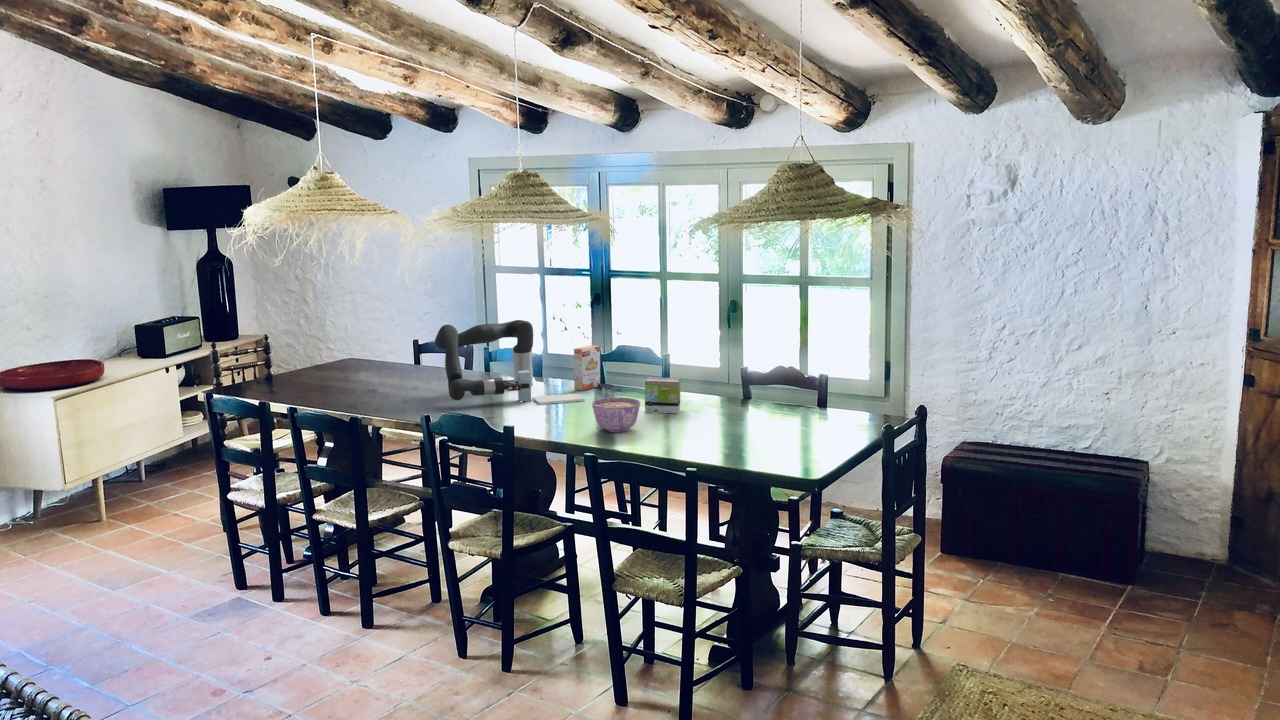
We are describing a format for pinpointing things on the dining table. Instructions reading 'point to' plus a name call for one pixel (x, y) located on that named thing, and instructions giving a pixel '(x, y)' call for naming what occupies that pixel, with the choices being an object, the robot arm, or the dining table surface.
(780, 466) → the dining table surface
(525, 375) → the blue block
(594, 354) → the cracker box
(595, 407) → the bowl of food
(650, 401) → the tea box
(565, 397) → the cream tile
